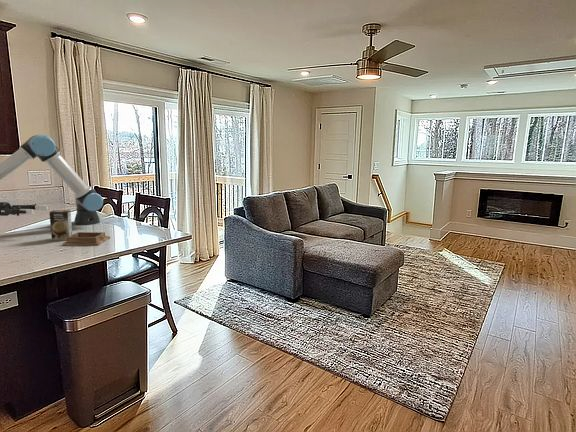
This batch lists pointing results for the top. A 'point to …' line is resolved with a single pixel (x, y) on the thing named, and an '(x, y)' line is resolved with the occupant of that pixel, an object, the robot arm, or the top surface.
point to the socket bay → (87, 238)
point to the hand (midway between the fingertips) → (40, 209)
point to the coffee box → (60, 224)
